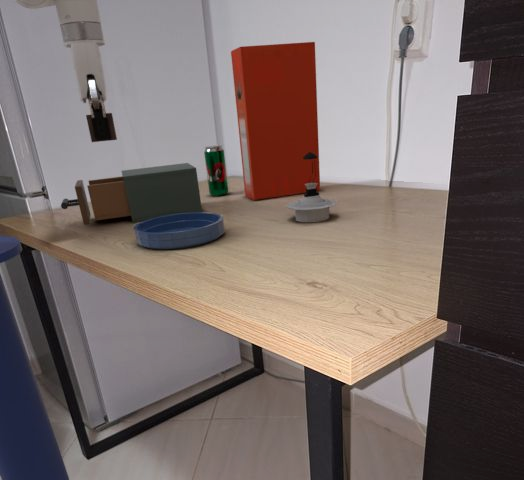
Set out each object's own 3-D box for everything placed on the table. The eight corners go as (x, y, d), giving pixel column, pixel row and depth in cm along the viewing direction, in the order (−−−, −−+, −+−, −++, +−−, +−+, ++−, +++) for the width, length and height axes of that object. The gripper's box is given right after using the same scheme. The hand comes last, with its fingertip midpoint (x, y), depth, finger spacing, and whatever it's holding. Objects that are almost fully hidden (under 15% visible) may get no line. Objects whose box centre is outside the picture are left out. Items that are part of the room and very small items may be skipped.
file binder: (245, 196, 127) (230, 50, 112) (307, 187, 131) (301, 46, 117) (254, 200, 120) (240, 46, 105) (320, 191, 124) (315, 41, 110)
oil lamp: (296, 156, 86) (347, 149, 89) (274, 153, 95) (321, 147, 98) (300, 227, 92) (347, 218, 95) (279, 218, 100) (323, 210, 103)
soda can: (232, 193, 133) (227, 144, 127) (222, 196, 129) (216, 147, 123) (216, 193, 135) (210, 145, 130) (206, 196, 131) (199, 148, 126)
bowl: (140, 256, 83) (136, 238, 82) (134, 235, 97) (131, 220, 96) (233, 241, 87) (231, 224, 85) (215, 223, 101) (213, 208, 100)
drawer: (64, 226, 106) (55, 189, 103) (68, 217, 116) (59, 182, 113) (151, 214, 110) (144, 178, 107) (147, 206, 120) (140, 172, 117)
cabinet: (132, 222, 109) (123, 176, 105) (129, 212, 120) (121, 170, 116) (202, 212, 113) (196, 167, 108) (193, 203, 123) (187, 162, 119)
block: (91, 142, 101) (85, 115, 98) (92, 141, 105) (87, 115, 103) (116, 139, 102) (111, 112, 99) (116, 138, 106) (111, 112, 104)
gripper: (66, 43, 102) (87, 139, 110) (58, 31, 87) (83, 143, 95) (104, 41, 103) (122, 136, 111) (102, 29, 88) (123, 139, 97)
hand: (103, 138), depth 103 cm, fingers closed on block, 5 cm apart
